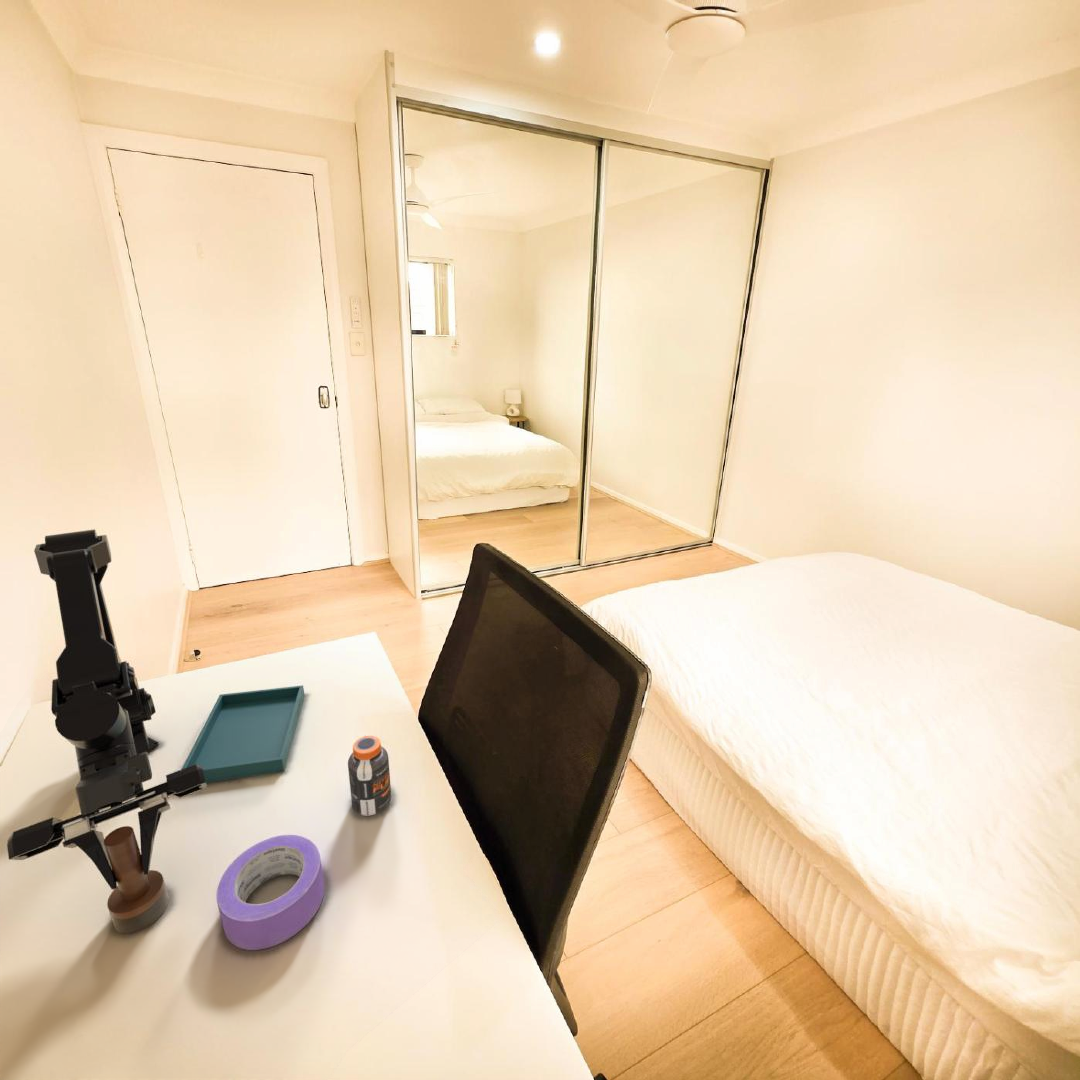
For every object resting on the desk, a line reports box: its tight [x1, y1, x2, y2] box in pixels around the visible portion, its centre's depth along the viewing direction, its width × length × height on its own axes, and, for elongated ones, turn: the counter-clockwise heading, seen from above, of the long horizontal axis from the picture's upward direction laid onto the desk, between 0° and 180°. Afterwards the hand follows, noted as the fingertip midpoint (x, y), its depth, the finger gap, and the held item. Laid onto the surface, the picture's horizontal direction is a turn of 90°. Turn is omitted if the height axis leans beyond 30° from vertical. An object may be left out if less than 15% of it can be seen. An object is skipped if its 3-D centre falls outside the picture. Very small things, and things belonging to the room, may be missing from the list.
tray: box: [180, 684, 306, 784], centre depth 96 cm, size 21×15×3 cm
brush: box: [104, 825, 170, 935], centre depth 64 cm, size 6×6×12 cm
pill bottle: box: [347, 735, 392, 817], centre depth 82 cm, size 6×6×11 cm
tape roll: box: [216, 834, 326, 951], centre depth 67 cm, size 12×12×5 cm
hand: (130, 881), depth 63 cm, fingers closed on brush, 3 cm apart
